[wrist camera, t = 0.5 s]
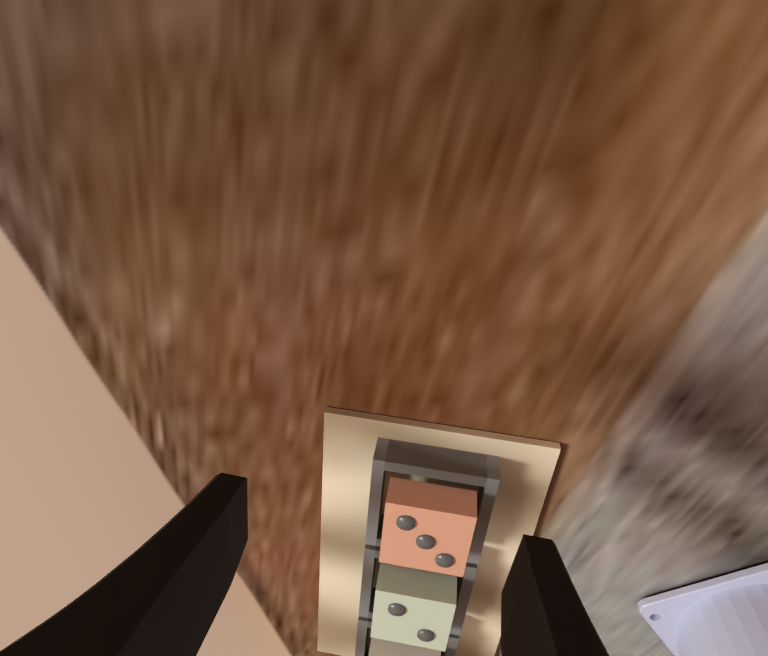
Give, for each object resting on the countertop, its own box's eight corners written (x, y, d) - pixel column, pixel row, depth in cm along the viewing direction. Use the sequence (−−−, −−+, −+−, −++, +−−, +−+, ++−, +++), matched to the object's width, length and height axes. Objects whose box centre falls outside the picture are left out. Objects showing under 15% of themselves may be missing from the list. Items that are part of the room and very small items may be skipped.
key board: (485, 676, 31) (485, 710, 29) (319, 644, 31) (311, 675, 30) (559, 442, 22) (566, 473, 20) (326, 406, 23) (316, 433, 21)
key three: (463, 549, 23) (463, 579, 22) (383, 535, 23) (378, 564, 22) (476, 491, 21) (477, 520, 20) (390, 476, 22) (385, 504, 20)
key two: (446, 623, 26) (445, 653, 24) (375, 609, 26) (369, 639, 25) (457, 576, 24) (456, 607, 23) (380, 562, 24) (375, 592, 23)
